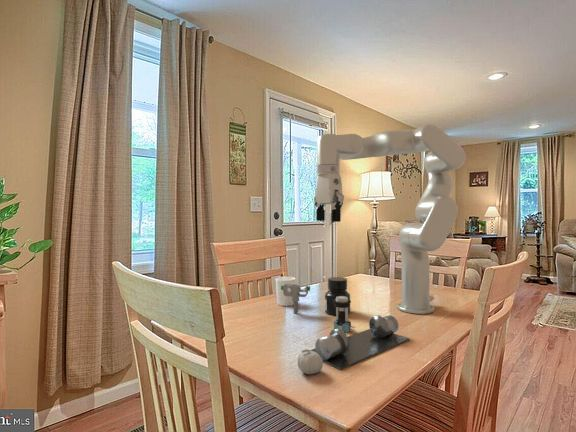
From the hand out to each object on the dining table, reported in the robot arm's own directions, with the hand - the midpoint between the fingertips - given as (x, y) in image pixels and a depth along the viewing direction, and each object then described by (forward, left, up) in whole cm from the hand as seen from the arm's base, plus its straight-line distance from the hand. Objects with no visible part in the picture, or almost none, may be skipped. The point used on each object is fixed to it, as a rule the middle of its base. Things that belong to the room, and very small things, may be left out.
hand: (328, 221), depth 118 cm
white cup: (+1, -22, -33) cm, 40 cm away
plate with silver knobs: (+12, +24, -33) cm, 42 cm away
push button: (+6, +13, -33) cm, 36 cm away
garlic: (+32, +26, -33) cm, 53 cm away
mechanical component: (+6, -10, -33) cm, 35 cm away
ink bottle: (-6, -1, -33) cm, 33 cm away
